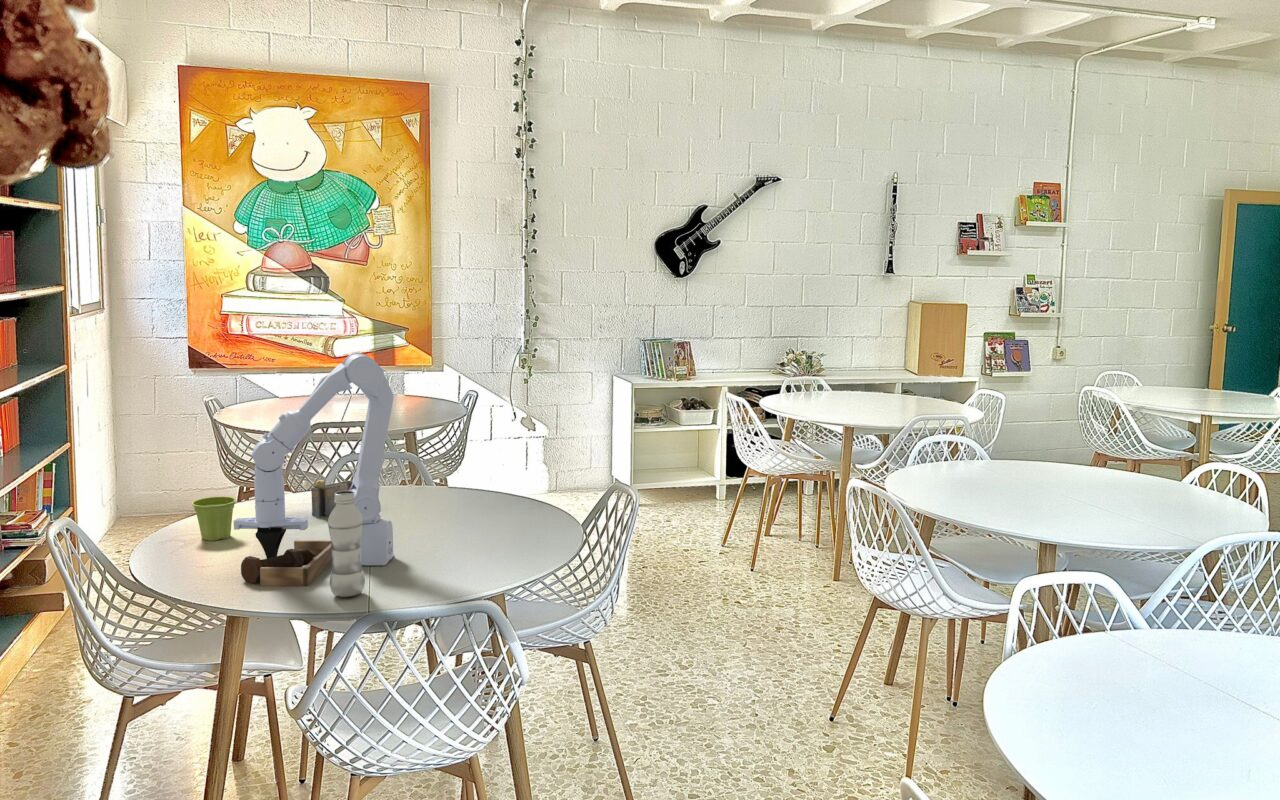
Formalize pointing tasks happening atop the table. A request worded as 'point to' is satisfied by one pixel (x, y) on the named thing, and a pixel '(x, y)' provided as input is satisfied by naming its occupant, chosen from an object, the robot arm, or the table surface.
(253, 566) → the bolt
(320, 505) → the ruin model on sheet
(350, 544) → the plastic bottle
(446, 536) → the table surface
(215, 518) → the plant pot
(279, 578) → the frame
